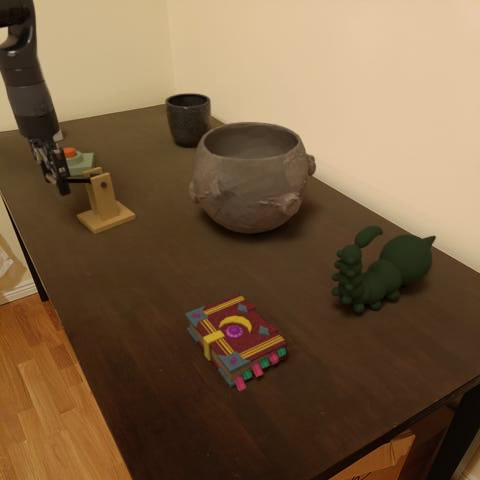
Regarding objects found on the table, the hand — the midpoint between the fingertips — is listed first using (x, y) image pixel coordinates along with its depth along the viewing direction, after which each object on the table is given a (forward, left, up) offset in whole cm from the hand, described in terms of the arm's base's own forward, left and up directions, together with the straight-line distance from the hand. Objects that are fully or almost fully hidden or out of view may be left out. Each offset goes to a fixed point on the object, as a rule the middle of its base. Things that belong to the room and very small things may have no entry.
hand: (58, 187), depth 93 cm
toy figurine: (+62, -34, -11) cm, 72 cm away
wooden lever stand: (+8, +5, -11) cm, 14 cm away
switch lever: (+4, +2, -1) cm, 4 cm away
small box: (-13, +59, -11) cm, 61 cm away
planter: (+33, +49, -11) cm, 60 cm away
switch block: (-3, +36, -11) cm, 37 cm away
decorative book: (+32, -43, -11) cm, 55 cm away
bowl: (+42, -3, -11) cm, 43 cm away
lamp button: (-3, +35, -7) cm, 36 cm away
